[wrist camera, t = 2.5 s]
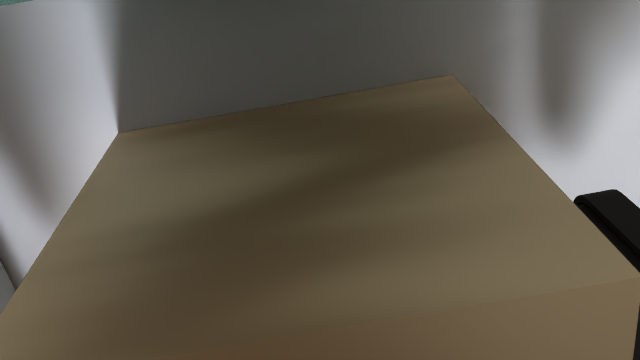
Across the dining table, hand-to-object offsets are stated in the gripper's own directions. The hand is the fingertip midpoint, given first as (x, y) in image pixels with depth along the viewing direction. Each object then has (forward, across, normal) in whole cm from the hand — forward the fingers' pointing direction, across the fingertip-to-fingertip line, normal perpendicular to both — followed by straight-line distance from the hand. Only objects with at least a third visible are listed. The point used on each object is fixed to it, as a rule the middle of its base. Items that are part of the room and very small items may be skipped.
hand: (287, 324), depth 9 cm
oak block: (+2, -1, 0) cm, 3 cm away
